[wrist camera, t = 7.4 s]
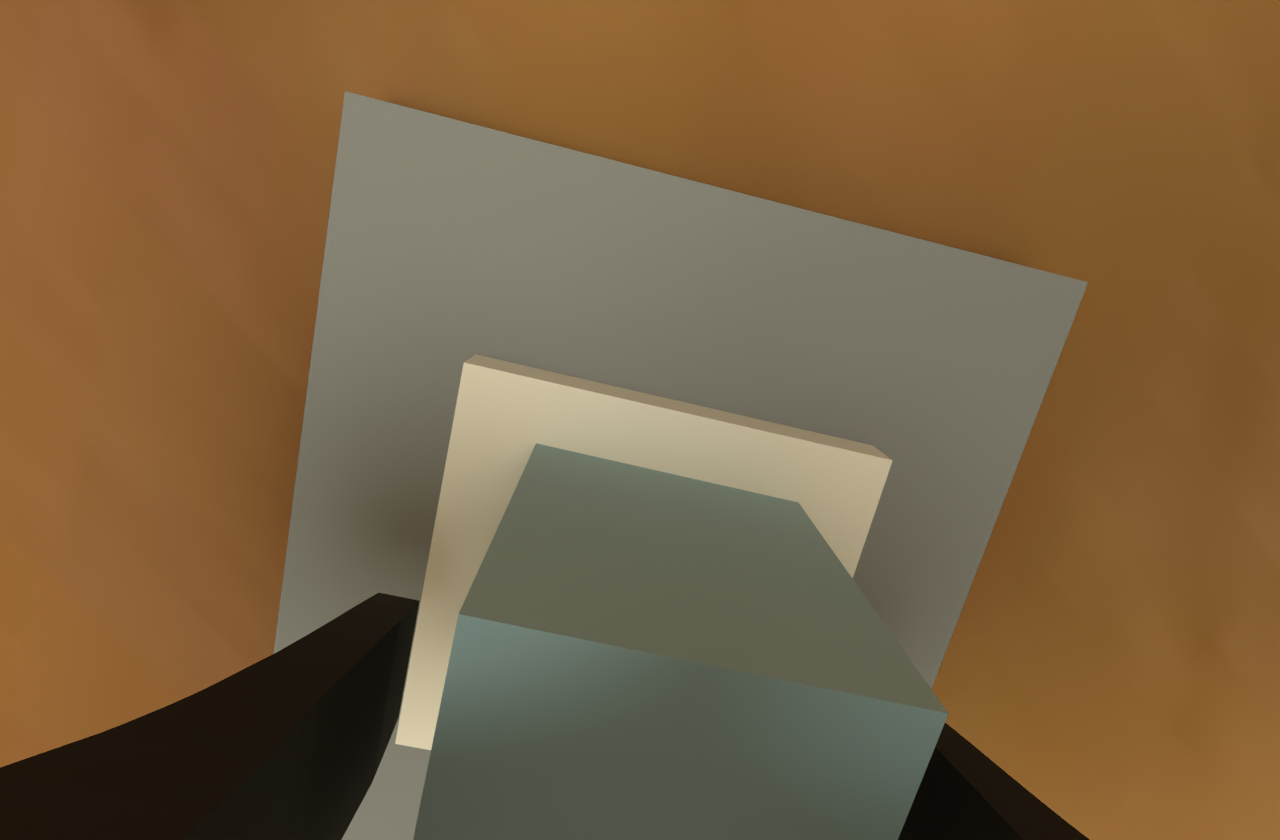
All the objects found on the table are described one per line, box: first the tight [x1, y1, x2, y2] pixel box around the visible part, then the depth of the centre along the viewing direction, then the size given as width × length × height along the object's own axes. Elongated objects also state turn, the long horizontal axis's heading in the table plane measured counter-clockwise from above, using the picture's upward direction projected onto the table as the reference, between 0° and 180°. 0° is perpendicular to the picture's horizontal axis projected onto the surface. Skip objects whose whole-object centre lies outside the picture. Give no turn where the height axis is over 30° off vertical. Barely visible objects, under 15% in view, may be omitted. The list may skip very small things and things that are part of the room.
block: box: [413, 443, 948, 840], centre depth 10 cm, size 5×5×6 cm
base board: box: [274, 91, 1088, 840], centre depth 15 cm, size 14×16×3 cm
